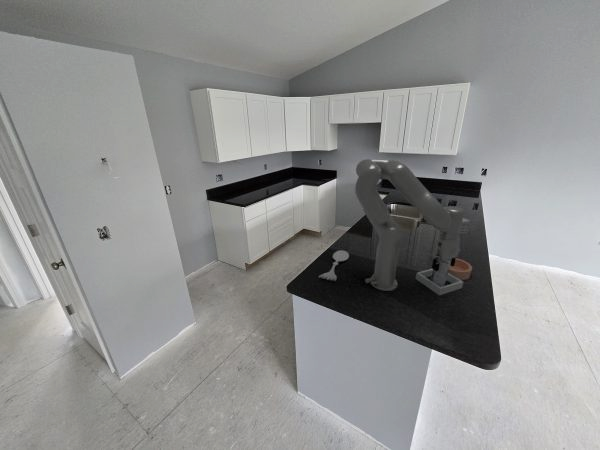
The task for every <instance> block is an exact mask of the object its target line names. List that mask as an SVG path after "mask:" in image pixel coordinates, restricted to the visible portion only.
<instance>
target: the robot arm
mask: <svg viewBox="0 0 600 450" xmlns="http://www.w3.org/2000/svg"><path fill="white" fill-rule="evenodd" d="M355 171H356V175H357V176H358V178H357V180H356V182H355V188H354V189H355V190H354V191H355V196H356V198H357V200H358V201H359V203H360V205H361V207H362V209H363V212H364V214H365V216H366V217H367V219H368V221H369V223H370V224H371V226H372V227H373V229H374V230H375V232H376V233H377V235H378V237H379V238H378V239H379V240H378V243H377V246H376V252H375V253H376V254H375V263H374V273H372V275H371V276H370V278H365V280H364V281H365V283H366V284H369V283H370V285H371V286H373V288H375V289H377V290H380V291H383V292H384V291H385V292H389V291H390V292H392V291H394V290H395V289H397V288H398V281H397V279H396V273H397V267H398V266H397V265H398V260H399V259H398V258H399V252H400V249H401V248H400V247H401V244H402V242H403V237H404V234H403V230H402V228H401V227H400V225H399V224H398V223H397V222H396V221H395V219H393V217H392V216H391V214H390V210H389V207H388V206H387V204H386V203H385V202H384V200H383V198H382V197H381V195H380V193H379V191H378V188H377V185H378V183H379V181H380V180H388V181H389V182H390V183H391V184H392V186H393V187H394V188H395V189H396V190H397V191H398V192H399V193H400V194H401V195H402V197H403V198H404V199H405V200H406V201H407V202H408V203H409V204H410V205H411V206H412V207H414V208H415V209H416V210H417V211H419V213H421V214H422V218H423V219H424V221H426V222H427V223H428V224H430V226H432V227H433V228H434V229H436V230H437V231H439V230H440V231H439V236H438V239H437V241H436V245H435V248H434V252H433V253H432V254H430V256H429V258H430V260H431V262H432V264H431V269H433V270H435V271H438V270H439V265H440V264H439V262H440V261H441V260H443V261H444V260H448V259H451V258H452V260H451V264H450V266H452V267H454V264H455V260H456V258H457V259H458V256H459V254H460V251H461V248H460V245H461V239H460V238H461V237H460V235H461V234H460V230H461V226H462V221H463V218H464V215H465V210H464V208H462V207H459V206H453V205H452V206H451V205H449V206H443V205H442V204H441V203H440V202H439V201H438V199H437V198H436V197H435V196H434V195H432V193H431V192H430V191H429V190H428V189H427V188H426V187H425V186H424V185H423V183H422V182H421V181H420V180H419V179H418V178H417V176H415V174H414V173H413V172H412V170H411V169H410V168H409V167H408V166H407V165H406V164H404V163H403V162H400V161H398V160H391V159H371V158H370V159H369V158H367V159H362V160H361V161H359V162H358V163H357V165H356V168H355ZM438 256H439V257H438ZM437 258H438V260H436V259H437Z"/></svg>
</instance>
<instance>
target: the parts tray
mask: <svg viewBox="0 0 600 450" xmlns="http://www.w3.org/2000/svg"><path fill="white" fill-rule="evenodd" d="M432 273H433V269H432V268H430V269H427V270H426V269H425V270H422V271H418V272H416V275H415V280H417V281H418V282H419V283H421V284H422V285H423V286H426V288H428V289H430V290H431V291H432V292H433V293H435V294H436V295H438V296H442V295H445V294H448V293H450V292H454V291H457V290H461V289H462V288H463V286H464V280H459V279H458V278H456V277H454V276H453V275H451V274H449V273H448V275H447V279H446V282H449V283H450V284H445V285H444V286H443V287H439V286H438V285H436V284H435V283H433V282H432V281H431V279H429V278H430V277H432Z"/></svg>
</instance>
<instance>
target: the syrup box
mask: <svg viewBox="0 0 600 450" xmlns="http://www.w3.org/2000/svg"><path fill="white" fill-rule="evenodd" d="M438 257H439V256H438ZM436 260H438V258H437V259H436ZM451 260H452V258H451V259H448V260H444V261H443V260H441V261H440V262H439V264H440V265H439V270H438V271H435V270H433V273H432V276H430V281H432V282H433V283H435V284H436V285H438V286H439V287H443V286H446V282H447V280H446V279H447V275H448V271H449V268H450V264H451Z"/></svg>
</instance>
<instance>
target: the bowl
mask: <svg viewBox="0 0 600 450" xmlns="http://www.w3.org/2000/svg"><path fill="white" fill-rule="evenodd" d="M472 270H473V266H472V265H471V264H470V263H469V262H467V261H466V260H463V259H460V258H458V257H457V258H456V260H455V264H454V267H452V266H450V268H449V271H448V273H449V274H451V275H453V276H454V277H456V278H458V279H459V280H461V281H465V280H469V279H470V276H471V273H472Z"/></svg>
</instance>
